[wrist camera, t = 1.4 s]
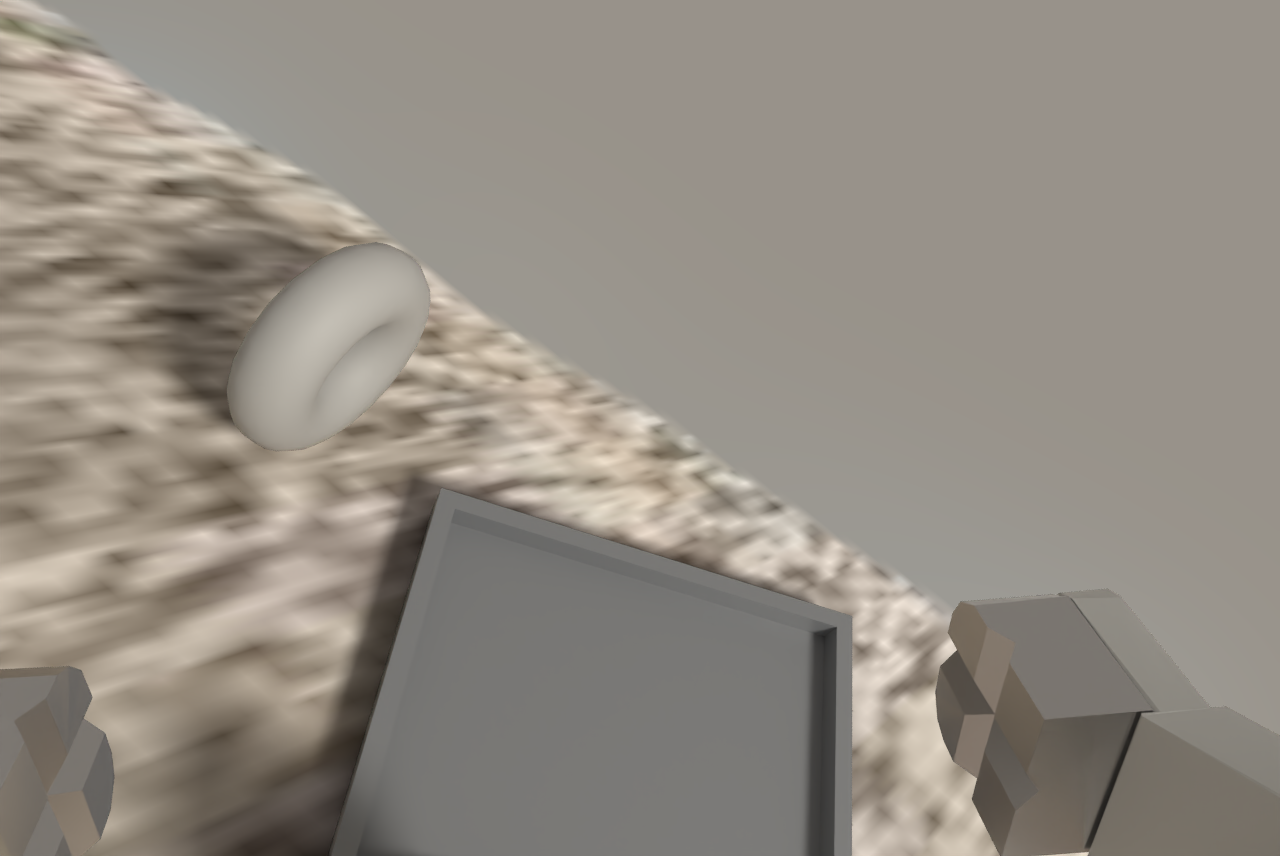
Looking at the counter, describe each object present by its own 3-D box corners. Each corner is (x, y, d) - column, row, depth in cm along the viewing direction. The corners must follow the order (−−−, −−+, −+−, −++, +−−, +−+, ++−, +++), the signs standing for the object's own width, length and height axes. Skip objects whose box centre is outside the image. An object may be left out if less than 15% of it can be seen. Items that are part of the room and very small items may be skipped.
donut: (369, 335, 50) (406, 187, 42) (422, 381, 49) (470, 240, 42) (201, 453, 43) (210, 304, 36) (262, 506, 43) (284, 367, 35)
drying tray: (317, 890, 36) (324, 878, 35) (432, 509, 46) (441, 487, 44) (825, 1002, 40) (851, 996, 39) (831, 632, 50) (852, 616, 49)
